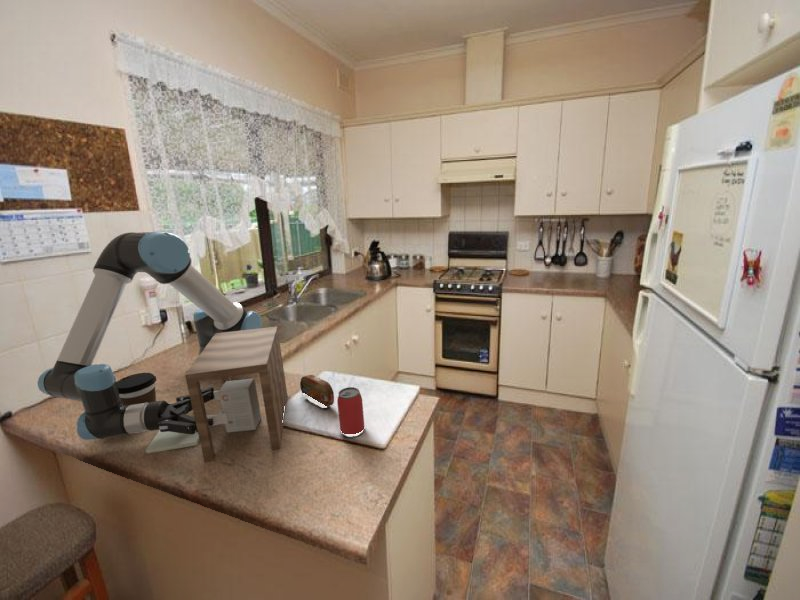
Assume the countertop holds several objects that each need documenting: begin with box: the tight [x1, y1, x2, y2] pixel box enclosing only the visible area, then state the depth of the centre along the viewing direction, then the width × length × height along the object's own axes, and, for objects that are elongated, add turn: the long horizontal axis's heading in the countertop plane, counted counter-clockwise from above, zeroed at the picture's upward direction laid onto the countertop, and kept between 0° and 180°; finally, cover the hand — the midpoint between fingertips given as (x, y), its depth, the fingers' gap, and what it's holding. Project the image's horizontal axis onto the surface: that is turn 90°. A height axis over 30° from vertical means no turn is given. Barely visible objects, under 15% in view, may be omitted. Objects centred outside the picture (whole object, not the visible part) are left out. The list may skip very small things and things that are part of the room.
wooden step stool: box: [184, 326, 288, 463], centre depth 103 cm, size 28×18×24 cm, turn 13°
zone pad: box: [146, 428, 200, 454], centre depth 102 cm, size 12×12×1 cm
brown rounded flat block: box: [299, 374, 335, 408], centre depth 115 cm, size 15×3×8 cm, turn 47°
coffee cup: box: [116, 372, 157, 406], centre depth 112 cm, size 11×11×12 cm
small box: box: [218, 378, 262, 434], centre depth 104 cm, size 8×6×13 cm
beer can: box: [336, 386, 365, 434], centre depth 99 cm, size 7×7×12 cm
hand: (233, 404), depth 103 cm, fingers open, 13 cm apart
